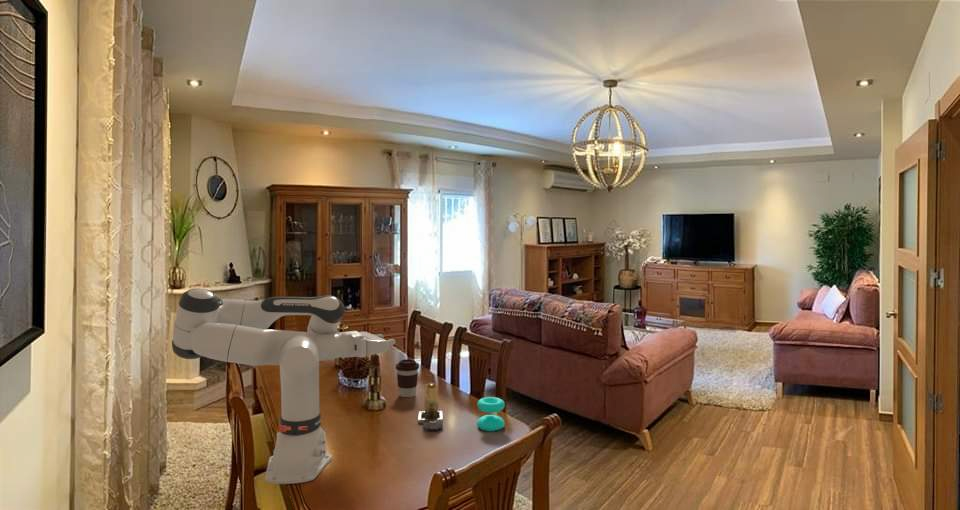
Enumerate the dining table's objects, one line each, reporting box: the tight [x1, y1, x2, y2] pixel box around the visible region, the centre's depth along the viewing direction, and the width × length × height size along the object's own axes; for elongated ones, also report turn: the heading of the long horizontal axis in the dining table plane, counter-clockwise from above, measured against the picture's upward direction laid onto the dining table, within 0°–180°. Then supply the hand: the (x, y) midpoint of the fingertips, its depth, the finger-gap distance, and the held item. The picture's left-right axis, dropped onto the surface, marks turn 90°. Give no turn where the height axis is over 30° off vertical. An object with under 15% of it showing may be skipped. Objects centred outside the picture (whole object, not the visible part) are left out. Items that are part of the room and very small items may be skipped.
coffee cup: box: [395, 358, 420, 399], centre depth 225 cm, size 10×10×15 cm
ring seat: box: [417, 410, 444, 425], centre depth 198 cm, size 9×9×1 cm
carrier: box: [422, 418, 444, 433], centre depth 191 cm, size 12×7×2 cm, turn 5°
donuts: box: [476, 396, 506, 432], centre depth 190 cm, size 10×10×10 cm
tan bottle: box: [424, 382, 439, 419], centre depth 198 cm, size 5×5×13 cm
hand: (388, 339), depth 189 cm, fingers open, 8 cm apart
